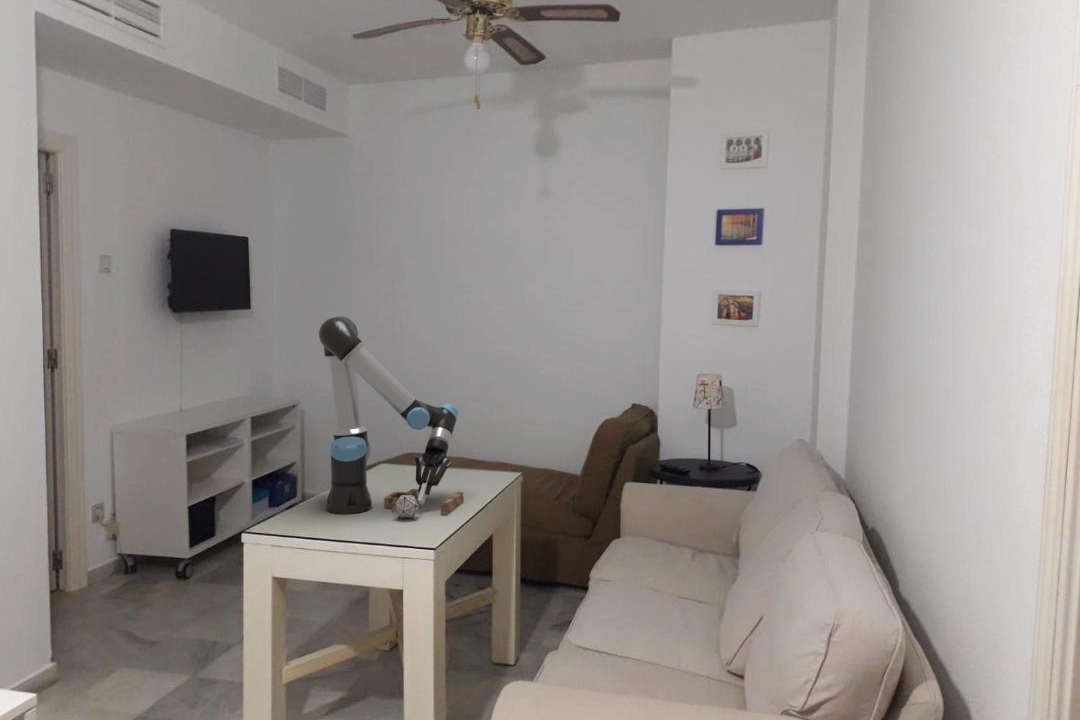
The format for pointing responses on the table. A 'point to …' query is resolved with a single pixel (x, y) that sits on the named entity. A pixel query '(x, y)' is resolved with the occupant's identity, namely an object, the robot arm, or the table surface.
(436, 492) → the table surface
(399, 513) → the game die
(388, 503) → the wooden blocks
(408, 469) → the table surface
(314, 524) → the table surface
